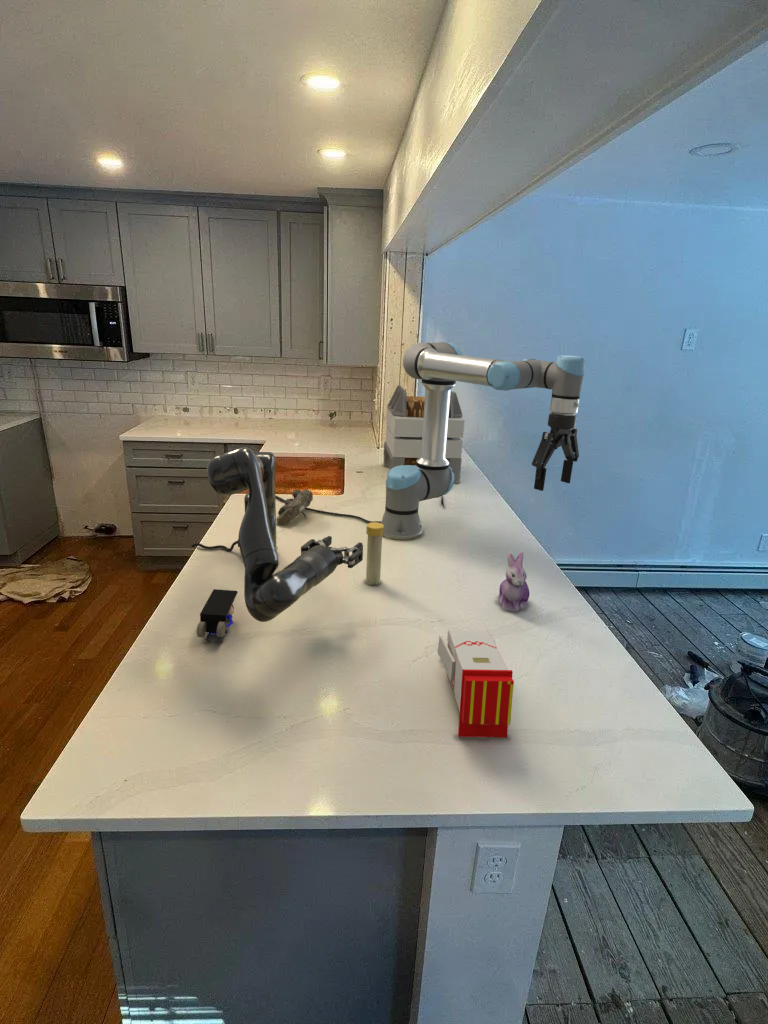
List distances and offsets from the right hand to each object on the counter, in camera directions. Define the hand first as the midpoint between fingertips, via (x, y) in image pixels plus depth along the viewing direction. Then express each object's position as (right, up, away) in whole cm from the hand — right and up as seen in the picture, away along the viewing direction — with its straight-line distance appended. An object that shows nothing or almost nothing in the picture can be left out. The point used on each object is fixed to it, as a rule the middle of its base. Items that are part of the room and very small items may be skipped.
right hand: (552, 485), depth 166 cm
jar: (-52, -28, -1) cm, 59 cm away
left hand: (-59, -15, -24) cm, 65 cm away
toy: (-31, -45, -47) cm, 72 cm away
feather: (-25, -2, +75) cm, 79 cm away
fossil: (-82, -9, +46) cm, 95 cm away
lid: (-52, -12, -7) cm, 53 cm away
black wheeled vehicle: (-89, -36, -29) cm, 100 cm away
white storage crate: (-32, +11, +109) cm, 115 cm away
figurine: (-14, -33, -11) cm, 37 cm away
